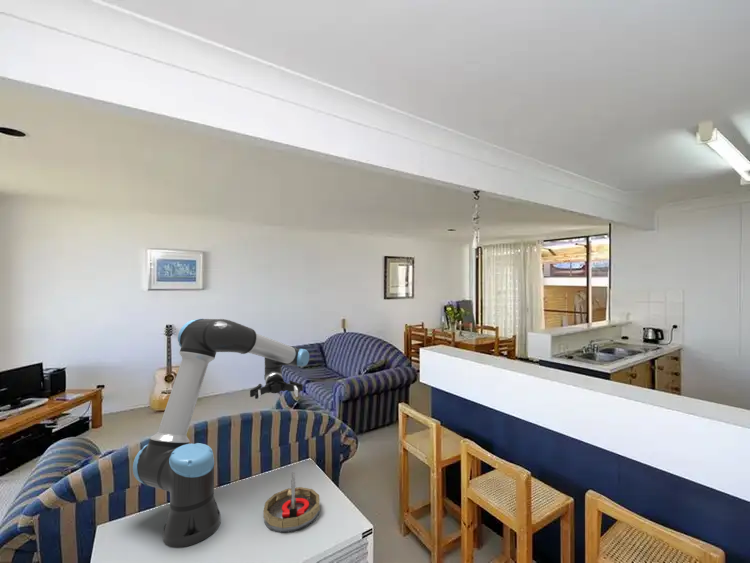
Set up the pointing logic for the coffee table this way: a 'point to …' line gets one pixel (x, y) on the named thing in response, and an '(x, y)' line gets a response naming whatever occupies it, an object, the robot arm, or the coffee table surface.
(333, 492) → the coffee table surface
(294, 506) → the tow hook
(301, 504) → the wooden rimmed bowl
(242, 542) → the coffee table surface
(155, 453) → the robot arm
